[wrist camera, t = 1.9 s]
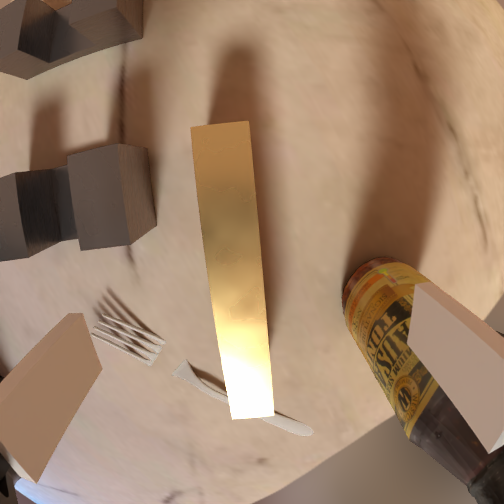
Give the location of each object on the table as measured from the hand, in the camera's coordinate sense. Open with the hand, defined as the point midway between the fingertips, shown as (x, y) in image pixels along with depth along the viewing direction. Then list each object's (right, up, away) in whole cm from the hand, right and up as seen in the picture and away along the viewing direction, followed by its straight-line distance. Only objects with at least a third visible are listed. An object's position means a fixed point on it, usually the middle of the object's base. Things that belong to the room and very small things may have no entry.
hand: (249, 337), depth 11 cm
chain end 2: (-11, +7, +7) cm, 15 cm away
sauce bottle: (+9, 0, +10) cm, 14 cm away
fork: (-2, -9, +13) cm, 15 cm away
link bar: (-1, +2, +9) cm, 10 cm away
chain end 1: (-12, +19, +4) cm, 23 cm away
